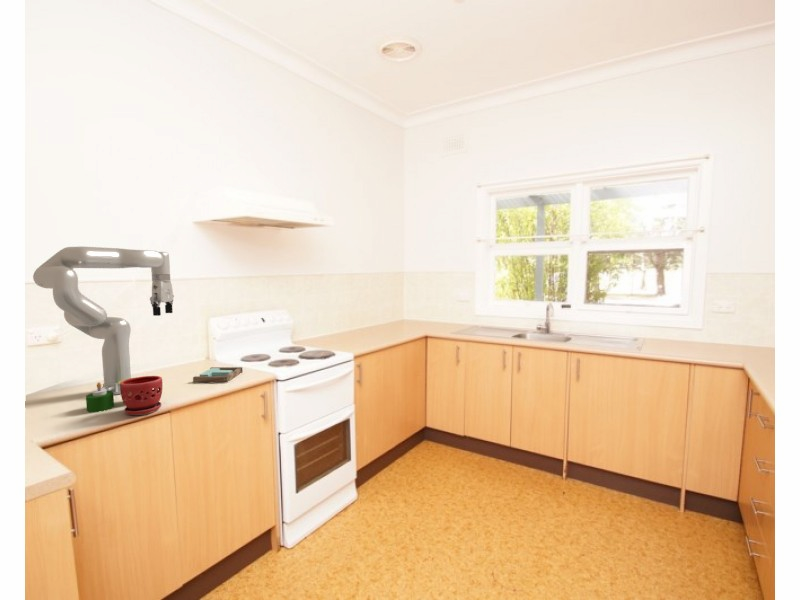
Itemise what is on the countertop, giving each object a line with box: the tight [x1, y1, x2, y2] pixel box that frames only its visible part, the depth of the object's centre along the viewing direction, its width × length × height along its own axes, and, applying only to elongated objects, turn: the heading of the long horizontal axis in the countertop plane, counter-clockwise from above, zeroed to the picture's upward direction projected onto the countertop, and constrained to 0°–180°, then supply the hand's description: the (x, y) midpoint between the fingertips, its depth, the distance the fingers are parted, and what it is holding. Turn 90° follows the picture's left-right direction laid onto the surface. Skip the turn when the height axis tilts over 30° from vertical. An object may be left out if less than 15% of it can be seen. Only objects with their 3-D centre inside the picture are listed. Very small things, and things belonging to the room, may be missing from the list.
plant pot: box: [120, 375, 163, 416], centre depth 150 cm, size 13×13×12 cm
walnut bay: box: [192, 366, 243, 383], centre depth 195 cm, size 18×16×2 cm
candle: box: [85, 381, 115, 413], centre depth 153 cm, size 8×8×10 cm
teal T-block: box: [199, 367, 233, 376], centre depth 195 cm, size 12×12×3 cm
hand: (163, 314), depth 194 cm, fingers open, 9 cm apart
